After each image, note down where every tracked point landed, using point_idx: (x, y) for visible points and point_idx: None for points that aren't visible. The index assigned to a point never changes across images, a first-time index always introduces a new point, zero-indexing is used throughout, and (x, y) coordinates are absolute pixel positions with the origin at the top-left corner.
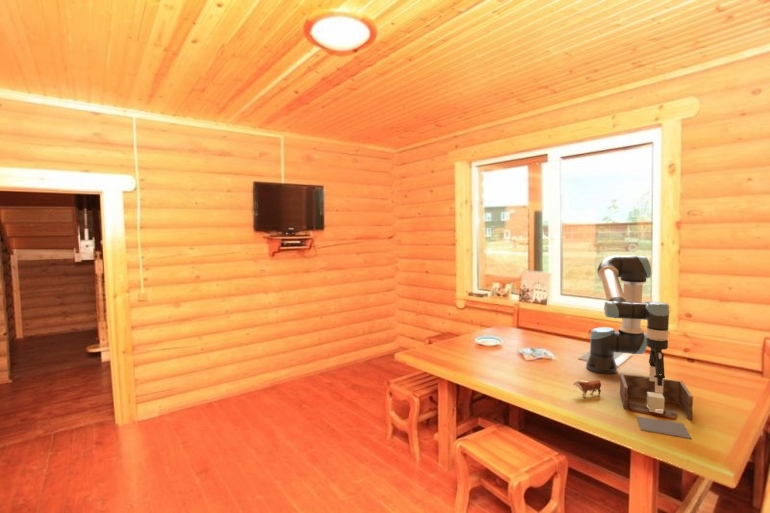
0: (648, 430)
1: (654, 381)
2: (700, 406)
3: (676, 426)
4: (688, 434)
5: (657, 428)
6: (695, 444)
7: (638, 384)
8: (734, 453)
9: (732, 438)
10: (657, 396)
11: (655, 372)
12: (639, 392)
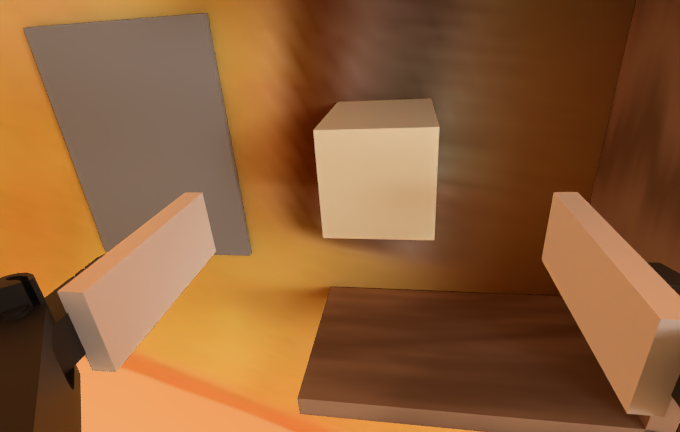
0: (40, 70)
1: (546, 238)
2: None
3: None
4: None
5: (102, 122)
6: (70, 251)
7: None
8: None
9: (223, 380)
10: (347, 196)
11: (591, 322)
12: (646, 66)
